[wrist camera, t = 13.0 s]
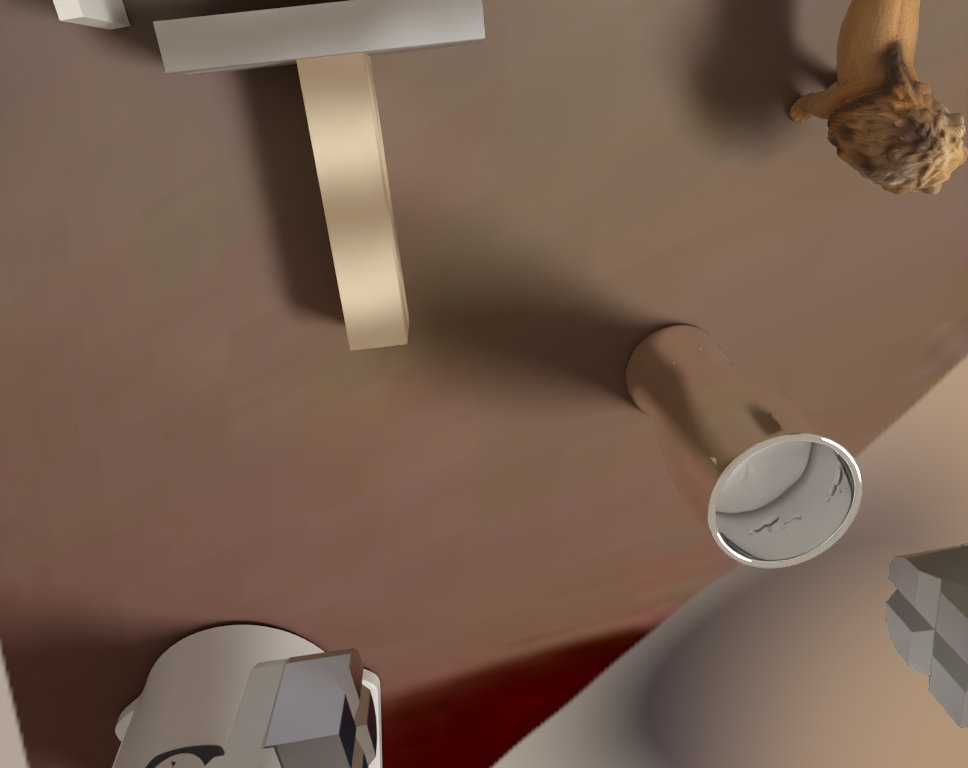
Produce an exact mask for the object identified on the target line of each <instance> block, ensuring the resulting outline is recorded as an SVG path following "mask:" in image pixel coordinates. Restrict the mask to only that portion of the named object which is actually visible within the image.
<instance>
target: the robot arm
mask: <svg viewBox="0 0 968 768" xmlns="http://www.w3.org/2000/svg"><path fill="white" fill-rule="evenodd" d="M888 579H889V580H890V581H891V582H892V583H893V584H894V585H895V587H896V588H897V590H896V591H895V592H894V593H893V595H892V596H891V597H890V599H889V600H888V601H887V602H886V623H887V627H888V631H889V634H890V638H891V640H892V642H893V644H894V646H895V648H896V649H897V651H898V653H899V654H900V655H901V657H902V658H903V659H904V661H905V662H906V663H907V664H908V665H909V666H910V667H912V668H914V669H916V670H918V671H920V672H922V673H924V674H926V675H928V676H929V691H930V692H931V694H932V695H933V696H934V697H935V698H936V700H937V701H938V702H939V703H940V705H941V706H942V707H943V708H944V709H945V711H946V712H947V713H948V714H949V715H950V717H952V719H953V720H954V721H955V723H956V724H957V725H958V726H959V727H960V728H964V727H968V543H965V544H962V545H960V546H952V547H946V548H940V549H935V550H929V551H923V552H918V553H912V554H906V555H901V556H895V557H894V558H893V560H892V562H891V564H890V567H889V578H888ZM363 668H364V667H363V664H362V661H361V658H360V655H359V652H358V650H356V649H355V648H351V649H345V650H338V651H331V652H324V651H323V650H321V649H320V648H318V647H317V646H315V645H314V644H312V643H311V642H309V641H307V640H305V639H303V638H301V637H299V636H296V635H294V634H291V633H289V632H286V631H282V630H279V629H275V628H270V627H264V626H256V625H229V626H221V627H215V628H211V629H207V630H203V631H200V632H197V633H195V634H192V635H190V636H188V637H186V638H184V639H182V640H180V641H179V642H177V643H176V644H174V645H173V646H171V647H170V648H169V649H168V650H167V651H165V652H164V653H163V654H162V655H161V657H160V658H159V659H158V660H157V661H156V663H155V664H154V666H153V668H152V669H151V671H150V673H149V676H148V679H147V681H146V684H145V687H144V689H143V692H142V693H141V695H140V696H139V697H138V698H137V699H136V700H134V701H133V702H132V703H131V704H130V705H129V706H127V707H126V708H125V709H124V710H123V712H122V713H121V714H120V716H119V719H118V722H117V725H116V727H115V733H116V735H117V737H118V738H119V740H120V741H121V745H120V748H119V750H118V753H117V756H116V758H115V761H114V764H113V766H112V768H382V737H381V697H380V681H379V678H378V677H377V676H376V675H375V674H374V673H373V672H371V671H369V670H366V669H363Z"/></svg>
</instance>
